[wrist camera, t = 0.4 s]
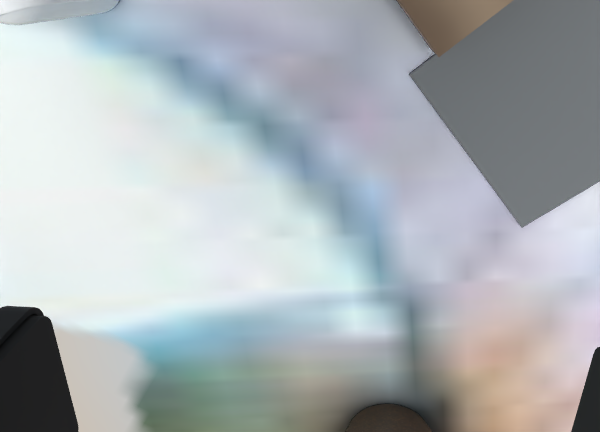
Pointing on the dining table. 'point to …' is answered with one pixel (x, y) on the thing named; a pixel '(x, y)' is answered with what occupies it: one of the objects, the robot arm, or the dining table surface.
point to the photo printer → (50, 10)
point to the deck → (449, 19)
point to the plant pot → (388, 420)
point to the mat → (525, 101)
